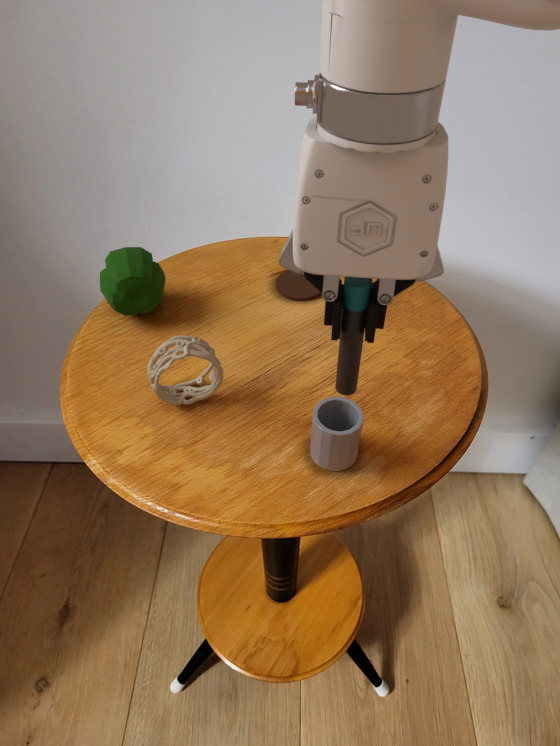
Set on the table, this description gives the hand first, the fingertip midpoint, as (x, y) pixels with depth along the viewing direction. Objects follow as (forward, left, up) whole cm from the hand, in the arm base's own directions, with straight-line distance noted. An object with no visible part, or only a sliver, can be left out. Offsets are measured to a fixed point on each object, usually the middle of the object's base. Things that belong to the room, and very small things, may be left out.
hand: (352, 329), depth 48 cm
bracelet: (+17, -6, -17) cm, 25 cm away
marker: (0, 0, -7) cm, 7 cm away
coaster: (+6, -29, -17) cm, 34 cm away
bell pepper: (+26, -17, -12) cm, 34 cm away
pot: (0, 0, -17) cm, 17 cm away
